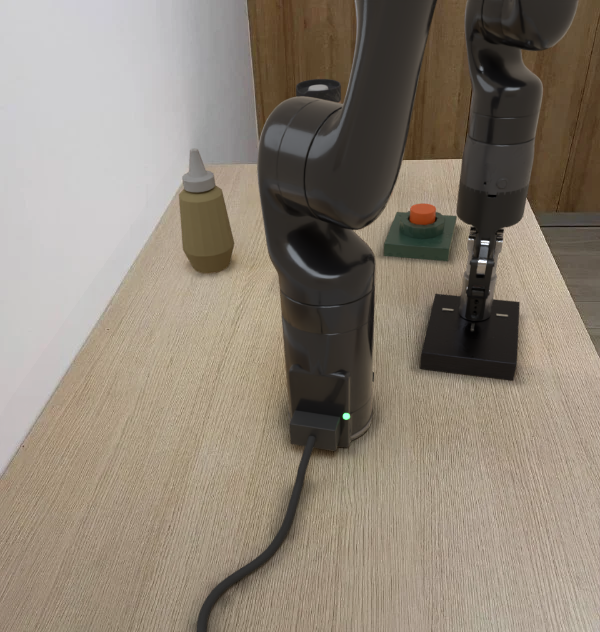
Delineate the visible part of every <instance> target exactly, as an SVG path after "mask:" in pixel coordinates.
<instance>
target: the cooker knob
mask: <svg viewBox="0 0 600 632" xmlns="http://www.w3.org/2000/svg"><path fill="white" fill-rule="evenodd" d="M497 279H498V275H497V273H496V274H495V276H494V277H492V278H491V281H490V287H489V289H490V295H489V296H488V299H486V303H485V310H484V316H483V319H482V320H486V319H487V318H489V317H490V315H491V310H492V304H493V299H494V297H495V291H496V286H497V281H498V280H497ZM468 282H469V275H467V273H466V270H465V271H464V272H463V275H462V284H461V290H460V291H461V292H460V296H461V298H460V306H459V314H460V315H461V316H462V317H463V318H465V319H466V317H465V313H466V306H467V299H468V297H467V294H466V289H467V287H468ZM467 320H469V319H467ZM482 320H480V321H482ZM471 321H479V320H471Z"/></svg>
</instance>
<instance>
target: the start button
mask: <svg viewBox="0 0 600 632" xmlns="http://www.w3.org/2000/svg"><path fill="white" fill-rule="evenodd" d="M409 211H410V222H411V223H414V224H418V225H428V224H432V223H434V222H435V216H436V212H437V207H436V206H435V205H433V204H430V203H422V202H421V203H415V204H413V205H412V206H410V208H409Z"/></svg>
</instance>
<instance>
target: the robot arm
mask: <svg viewBox="0 0 600 632" xmlns="http://www.w3.org/2000/svg"><path fill="white" fill-rule="evenodd" d="M353 1H354V7H355V18H356V38H355V46H354V53H353V59H352V65H351V70H350V74H349V80H348V85H347V89H346V93H345V96H344V99H343V103H342V102H341V103H337V102H333V101H328V100H323V99H318V98H313V97H305V96H298V97H296V96H293V97H289V98H287V99H285V100H283V101H282V102H280V103H279V104H277V105H276V106H275V108H273V110H272V111H271V112H270V114H269V115H268V117H267V118H266V120H265V122H264V125H263V128H262V130H261V134H260V137H259V142H258V148H257V156H256V157H257V159H256V160H257V161H256V166H257V167H256V169H257V170H256V173H257V184H258V185H257V186H258V192H259V200H260V207H261V215H262V221H263V228H264V237H265V241H266V243H265V244H266V249H267V253H268V257H269V259H270V262H271V264H272V265H273V268H274V269H275V271H276V273H277V277H278V286H279V301H280V310H281V311H280V312H281V326H282V340H283V353H284V364H285V378H286V390H287V392H286V393H287V400H288V414H287V415H288V422H289V423H288V425H289V427H288V428H289V437H290V444H291V445H295V446H302V447H304V449H303V451H302V454H301V458H300V461H299V464H298V468H297V471H296V476H295V481H294V485H293V488H292V492H291V495H290V499H289V501H288V506H287V510H286V513H285V515H284V518H283V521H282V523H281V526H280V528H279V529H278V531H277V533H276V535H275V536H274V538H273V539H272V541H271V542H270V543H269V545H268V546H267V547H266V548H265V550H263V551H262V552H261V553H260V554H259V555H258V556H257V557H255V558H254V559H253V560H251V561H249V562H248V563H247V564H245V565H244V566H242V567H240V568H239V569H237V570H235V571H234V572H232V573H231V574H230V575H228V576H227V577H225V578H224V579H223V580H222V581H220V582H219V583H218V584H217V585H216V586H214V588H213V589H212V590H211V591H210V592H209V594H208V595H207V596H206V598H205V600H204V601H203V603H202V605H201V607H200V610H199V612H198V616H197V622H196V632H208V622H209V617H210V614H211V611H212V608H213V607H214V605H215V603H216V602H217V601H218V599H219V598H220V597H221V595H223V593H224V592H226V590H228V589H229V588H230V587H231V586H233V585H234V584H236V583H237V582H239V581H241V580H242V579H243V578H245V577H247V576H248V575H250V574H251V573H252V572H255V570H257V569H258V568H260V567H261V566H263V564H265V563H266V562H267V561H268V560H270V558H272V556H273V555H275V553H276V552H277V551H278V550H279V548H280V547H281V545H282V544H283V542H284V540H285V539H286V537H287V535H288V533H289V531H290V529H291V527H292V524H293V521H294V519H295V515H296V511H297V508H298V504H299V501H300V497H301V493H302V490H303V486H304V484H305V483H304V482H305V479H306V473H307V471H308V465H309V462H310V459H311V457H312V454H313V451H314V448H315V449H319V450H326V451H333V452H336V451H337V449H338V447H339V448H340V447H341V448H344V449H345V448H346V449H347V448H349V447H350V445H351V443H352V441H354V440H356V439H358V438H360V437H361V436H362V435H364V434H365V433H366V432H367V431H368V430H369V429H370V427H371V425H372V422H373V417H374V415H373V412H374V411H373V383H375V372H374V345H375V343H374V342H375V311H376V288H377V287H376V286H377V283H376V282H377V281H376V280H377V260H376V256H375V253H374V251H373V249H372V248H371V246H369V244H368V243H367V242H366V241H365V240H364V239H363V238H362V237H361V236H360V235H358V234H357V232H355V231H360V230H363V229H366V228H367V227H369V226H371V225H372V224H373V223H374V222H375V221H376V220H377V219H378V218H379V217H380V216H381V215H382V213H383V212H384V210H385V209H386V207H387V206H388V203H389V201H390V200H391V197H392V195H393V192H394V190H395V188H396V185H397V182H398V179H399V175H400V171H401V168H402V164H403V161H404V156H405V151H406V147H407V143H408V139H409V138H408V137H409V132H410V128H411V123H412V117H413V112H414V108H415V101H416V96H417V91H418V86H419V80H420V75H421V70H422V65H423V61H424V56H425V52H426V47H427V43H428V38H429V34H430V29H431V25H432V22H433V18H434V13H435V10H436V6H437V3H438V0H353ZM578 6H579V0H466V3H465V9H464V37H465V47H466V55H467V67H468V73H469V80H470V86H471V101H470V108H469V114H468V115H469V117H468V124H467V132H466V133H467V134H466V139H465V144H464V148H463V151H462V156H461V166H460V174H459V183H458V192H457V201H456V210H455V211H456V216H457V219H459V220H460V221H461V222H463V223H464V224H467V225H470V226H469V233H468V238H467V245H466V250H467V251H468V254H467V260H466V268H465V271H466V273H467V275H469V282H468V287H467V289H466V294H467V297H468V299H467V306H466V313H465V317H466V319H469V320H479V321H480V320H482V319H483V316H484V310H485V303H486V299H488V296H489V295H490V289H489V287H490V281H491V278H492V277H494V276H495V274H496V275H497V269H498V268H497V267H498V261H499V255H500V254H501V253H502V250H503V243H504V233H505V228H510V227H513V226H515V225H517V224H518V223H520V222H521V220H522V219H523V217H524V215H525V209H526V203H527V198H528V194H529V193H528V192H529V186H530V182H531V176H532V171H533V165H534V158H535V145H536V144H535V143H536V142H535V141H536V135H537V129H538V123H539V118H540V113H541V107H542V102H543V96H544V95H543V93H544V87H543V86H544V84H543V82H542V80H541V79H540V77H539V76H537V74H535V73H534V72H533V71H532V70H530V69H529V68H528V67H527V66H526V65H525V63H524V60H523V54H522V50H523V51H528V52H542V51H545V50H548V49H551V48H553V47H555V46H556V45H557V44H558V43H559V42H560V41H561V40H562V39H563V38H564V37H565V36H566V34H567V32H568V31H569V29H570V27H571V26H572V24H573V22H574V19H575V16H576V13H577V10H578Z"/></svg>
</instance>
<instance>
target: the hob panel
mask: <svg viewBox="0 0 600 632" xmlns="http://www.w3.org/2000/svg"><path fill="white" fill-rule="evenodd" d="M460 298H461V295H453V294H443V293H434V297H433V301H432V304H431V305H432V306H431V309H430V314H429V318H428V323H427V325H426V326H427V327H426V331H425V334H424V338H423V344H422V347H421V352H420V361H419V362H420V363H419V369H420V370H424V371H425V370H427V371H435V372H442V373H450V374H458V375H464V376H465V375H466V376H473V377H481V378H490V379H497V380H504V381H512V382H513V381H514V380H515V375H516V370H517V367H518V352H519V351H518V350H519V349H518V348H519V347H518V346H519V329H520V328H519V325H520V307H521V306H520V304H521V303H520V301H516V300H515V301H514V300H504V299H494V298H493V304H492V310H491V315H490V317H489V318H487V319H486V320H482V321H471V320H467V319H465V318H463V317H462V316H461V315H460V314H459V306H460Z"/></svg>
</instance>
